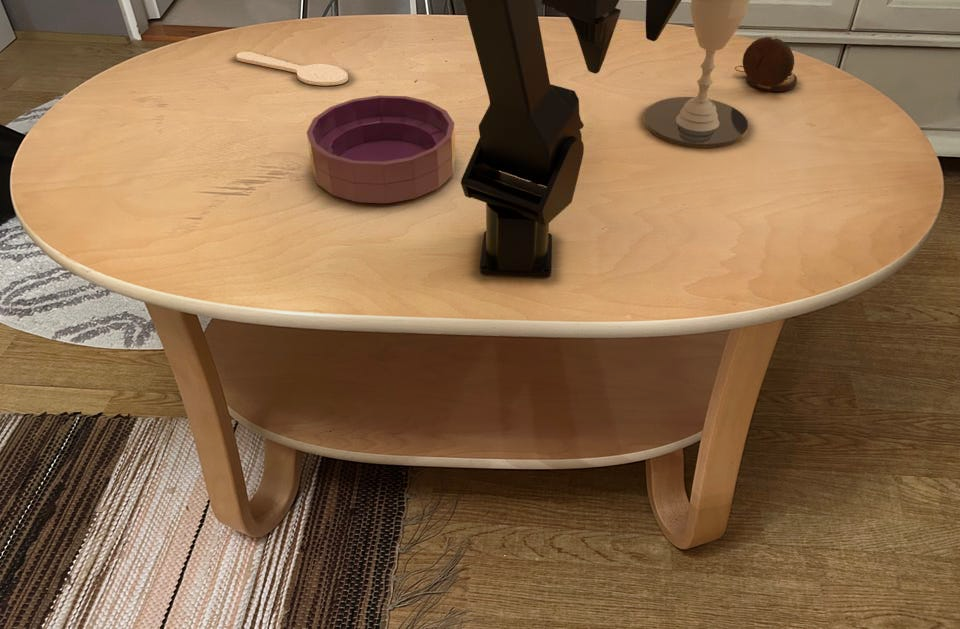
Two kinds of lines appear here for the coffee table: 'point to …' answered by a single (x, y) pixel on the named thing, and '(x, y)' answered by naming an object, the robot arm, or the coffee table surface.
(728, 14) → the chalice
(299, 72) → the spoon
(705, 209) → the coffee table surface
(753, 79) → the compass
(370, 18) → the coffee table surface
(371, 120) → the plum bowl
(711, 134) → the slate coaster
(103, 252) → the coffee table surface
